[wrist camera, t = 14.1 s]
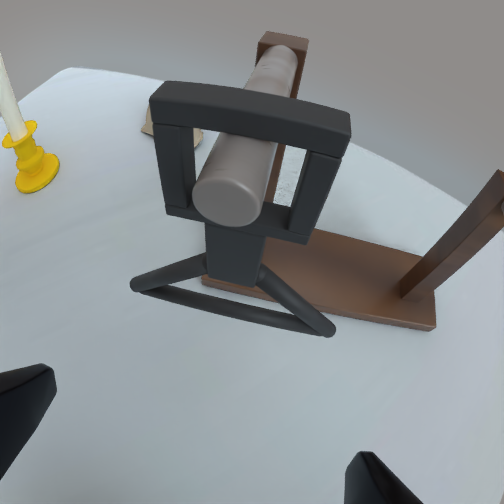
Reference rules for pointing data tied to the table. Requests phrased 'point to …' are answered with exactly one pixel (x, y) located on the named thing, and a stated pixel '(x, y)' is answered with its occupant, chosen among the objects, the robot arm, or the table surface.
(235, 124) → the hanger
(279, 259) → the rack
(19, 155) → the candle
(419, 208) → the table surface
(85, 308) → the table surface
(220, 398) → the table surface
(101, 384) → the table surface
